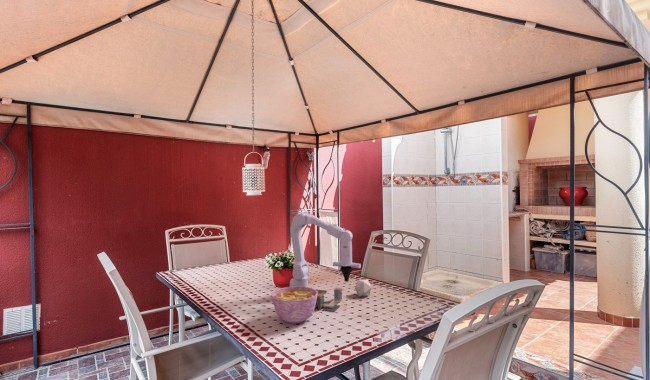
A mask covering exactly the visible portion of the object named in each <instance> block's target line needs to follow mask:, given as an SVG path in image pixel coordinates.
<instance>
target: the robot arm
mask: <svg viewBox="0 0 650 380" xmlns="http://www.w3.org/2000/svg"><path fill="white" fill-rule="evenodd" d="M311 224H312V225H315V226H317V227H318V228H321V229H323V230H326V233H327V234H328V235H330V236H332V237H333V238H335V239H339V241H340V261H333V262H332V267H340V271H341V274H342V275H343V278H344V282H347V283H348V282H349V281H350V276H351V273H352V270H353V268H356V269H361V267H362V266H361V265H362V264H361V263H356V262H353V244H352V241H353V240H352V239H353V237H354V236H353V233H352V231H350V230H349V229H346V228H344V227H343V228H342V227H341V226H338V223H330V224H329V223H327V222H326V221H324V220H322V219H320V218H319V217H317V216H315V215H314V214H312V213H309V212H302V213H301V212H300V213H297V214H296V215H295V216H293V218H292V223H291V224H290V225H291V226H290V228H289V229H290V237H291V244H292V251H293V252H292V253H293V260H294V263H293V266H292V268H293V270H292V276H293V277H292V278H291V279H290V281H289V287H295V286H301V287H309V276H308V275H309V274H310V268H309V266H308V262H307V260H305V253H304V247H303V246H304V245H303V238H302V232H301V230H303V228H305V226H307V225H311Z"/></svg>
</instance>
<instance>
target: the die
mask: <svg viewBox="0 0 650 380" xmlns="http://www.w3.org/2000/svg"><path fill="white" fill-rule="evenodd" d="M372 289H373V287H372V284H371V283H370V281H369V279H357V281H356V284H355V286H354V291H355V292H356V294H357V296H358V297H360V298H361V297H369V296H370V294H371V291H372Z"/></svg>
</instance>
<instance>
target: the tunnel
mask: <svg viewBox="0 0 650 380" xmlns="http://www.w3.org/2000/svg"><path fill="white" fill-rule="evenodd" d="M315 290H317V292H318V295H317V297H318V308H317V310H318V311H322V310H323V309H322V308H323V307H322V308H321V297H322V296H325V294H327V293H328V290H323V289H315Z"/></svg>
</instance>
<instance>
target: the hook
mask: <svg viewBox="0 0 650 380" xmlns="http://www.w3.org/2000/svg"><path fill="white" fill-rule="evenodd" d="M342 290H343V288H342V287H335V288H334V289H333V291H334V292H333V296H334V297H333V300H331V301H330V302H329V303H328V304H327V303H325V295H323V296H322V297H321V308H325V307H326V308H333V307H334V306H335V305H338V303H340V301H341V300H342V299H343V294H342V293H343V291H342ZM315 308H316V309H318V297H317V300H316V305H315Z"/></svg>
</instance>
